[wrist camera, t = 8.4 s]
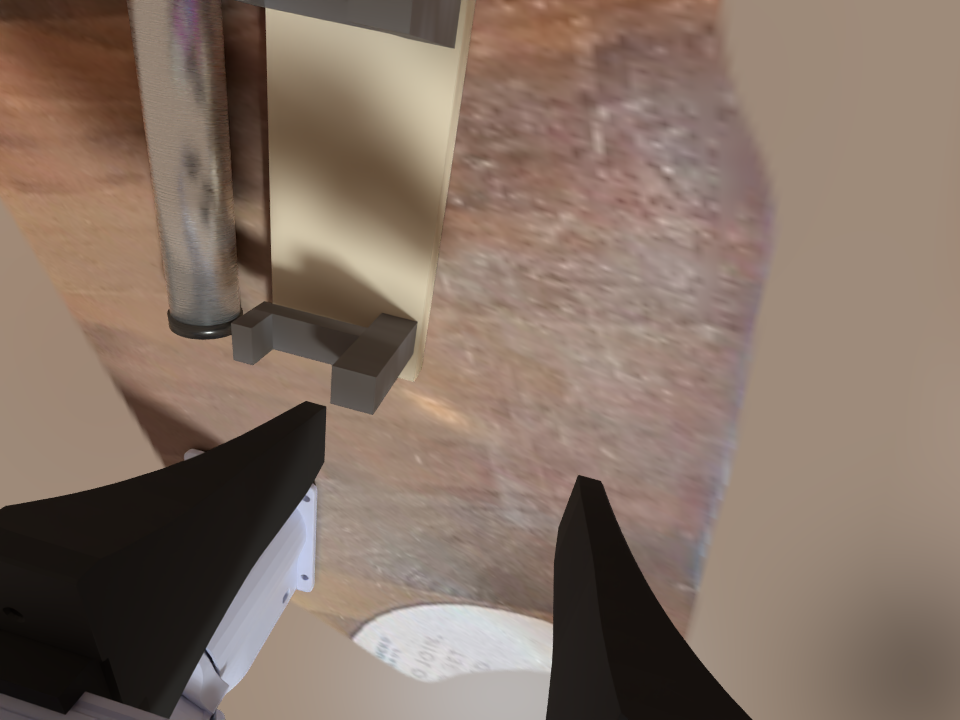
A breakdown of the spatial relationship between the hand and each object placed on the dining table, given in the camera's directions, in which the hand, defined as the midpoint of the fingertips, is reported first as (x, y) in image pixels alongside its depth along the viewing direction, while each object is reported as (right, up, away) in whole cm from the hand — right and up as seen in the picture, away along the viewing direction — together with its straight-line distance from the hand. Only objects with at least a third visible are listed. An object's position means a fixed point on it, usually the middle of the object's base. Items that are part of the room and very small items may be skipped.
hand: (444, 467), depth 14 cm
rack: (-4, +10, +6) cm, 12 cm away
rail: (-10, +11, +5) cm, 16 cm away
